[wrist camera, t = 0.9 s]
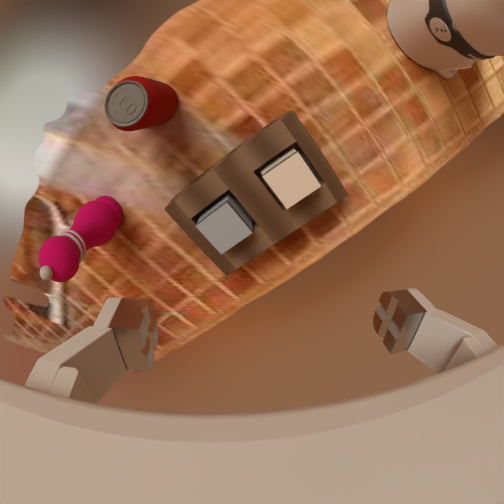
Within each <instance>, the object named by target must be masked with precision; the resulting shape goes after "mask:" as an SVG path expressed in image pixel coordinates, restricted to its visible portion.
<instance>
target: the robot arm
mask: <svg viewBox="0 0 504 504" xmlns="http://www.w3.org/2000/svg"><path fill="white" fill-rule="evenodd" d="M387 19H388V24H389V28H390V31H391V33H392V35H393V37H394V39H395V41H396V42H397V44H398V45H399V47H400V48H401V49H402V50H403V52H404V53H405V54H406V55H407V56H408V57H409V58H411V59H412V60H413V61H415V62H416V63H418V64H419V65H421V66H424V67H426V68H430V69H433V70H435V71H436V72H438V73H439V74H440V75H441V76H442V77H444V78H446V79H447V78H451V77H452V76H453V75H454V74H455V73H456V72H457V71H458V70H459V69H466V68H471V67H472V64H474V62H475V61H476V60H477V59H478V60H485V59H490V58H493V57H495V56H504V0H390V5H389V8H388V13H387ZM379 303H380V307H379V308H378V309H377V310H376V311H375V314H374V317H373V325H374V328H375V331H376V332H377V334H378V335H380V336H382V337H383V343H384V345H385V346H386V348H387V349H388V351H389V353H396V352H401V351H406V350H408V352H409V353H410V354H412V355H413V356H415V357H416V358H417V359H419V360H420V361H421V362H423V363H424V364H426V365H427V366H429V367H430V368H431V369H433V370H434V371H435V372H437V373H438V374H435V375H432V376H430V377H427V378H424V379H421V380H418V381H415V382H411V383H408V384H405V385H402V386H398V387H395V388H391V389H388V390H384V391H380V392H377V393H372V394H368V395H364V396H360V397H355V398H351V399H346V400H341V401H335V402H330V403H324V404H318V405H311V406H305V407H297V408H289V409H281V410H271V411H257V412H240V413H178V412H160V411H148V410H138V409H129V408H122V407H114V406H108V405H101V404H97V402H98V401H99V400H100V399H101V398H102V397H103V396H104V395H105V394H106V393H107V392H108V391H109V390H110V389H111V388H112V387H113V386H114V384H115V383H116V382H117V381H118V380H119V379H120V378H121V377H122V376H123V375H124V374H125V373H126V372H127V370H136V371H152V366H153V361H154V353H153V349H155V348H156V347H157V342H158V326H157V321H156V319H155V318H154V317H153V313H154V305H153V301H152V300H151V299H141V298H122V297H109V298H108V299H107V300H106V302H105V304H104V306H103V308H102V310H101V312H100V314H99V316H98V318H97V320H96V322H95V324H94V326H93V327H90V326H89V327H87V328H86V329H84V330H83V331H81V332H80V333H78V334H76V335H75V336H73V337H72V338H70V339H69V340H67V341H66V342H64V343H62V344H61V345H59V346H58V347H56V348H55V349H53V350H52V351H50V352H49V353H47V354H46V355H44V356H43V357H41V358H40V359H38V361H37V363H36V364H35V366H34V368H33V370H32V372H31V374H30V376H29V378H28V380H27V382H26V384H25V386H23V385H20V384H17V383H14V382H11V381H8V380H5V379H3V378H0V504H504V345H502V346H500V347H498V346H497V345H496V344H495V343H494V342H493V340H492V339H491V338H490V337H489V336H488V335H487V334H486V333H485V332H484V330H482V329H479V328H477V327H475V326H473V325H471V324H469V323H467V322H465V321H463V320H461V319H458V318H456V317H454V316H452V315H450V314H448V313H446V312H444V311H441V310H437V309H435V307H434V306H433V305H432V304H431V303H430V302H429V301H428V300H427V299H426V298H425V297H424V296H423V295H422V294H421V293H420V292H419V291H418V290H417V289H415V288H411V289H404V290H397V291H388V292H383V293H382V294H381V296H380V299H379Z"/></svg>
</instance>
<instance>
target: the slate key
mask: <svg viewBox="0 0 504 504" xmlns="http://www.w3.org/2000/svg"><path fill="white" fill-rule="evenodd" d="M196 227H197V229H198V230H199V231H200V232H201V233H202V234H203V235H204V236H205V237H206V238H207V239H208V241H209V242H210V243H211V244H212V245H213V246H214V247H215V248H216V249H217V250H218V251H219V253H220V254H223V253H224V252H226V251H227V250H229V249H230V248H231V247H233V246H234V245H236V244H237V243H239V242H240V241H242V240H243V239H244V238H246V237H247V236H249V235H250V234H252V233H253V230H252V219H251V217H250V216H249V215H248V214H247V213H246V211H245V210H244V209H243V208H242V207H241V205H240V204H239V203H238V202H237V200H236V199H235V198H234V197H233V196H232V194H231V193H230V192H228V193H227V194H225V195H224V196H223V197H221V198H220V199H219V200H217V201H216V202H215V203H213V204H212V205H211V206H210V207H208V208H207V209H206V210H204V211H203V212H202V213H201V215H200V217H199V219H198V222H197V224H196Z"/></svg>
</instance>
